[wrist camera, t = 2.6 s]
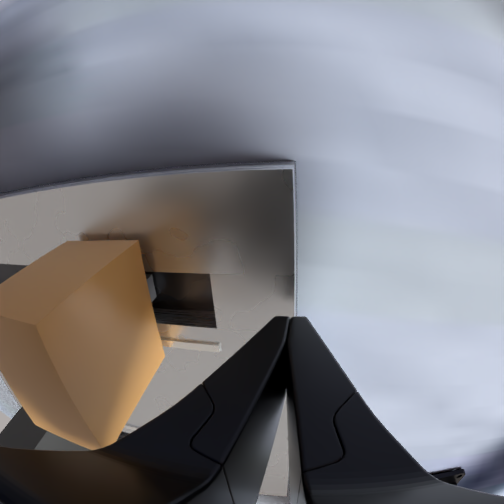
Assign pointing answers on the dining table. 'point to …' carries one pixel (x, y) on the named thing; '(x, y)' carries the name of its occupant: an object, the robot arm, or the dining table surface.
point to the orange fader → (80, 338)
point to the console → (181, 262)
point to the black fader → (33, 436)
